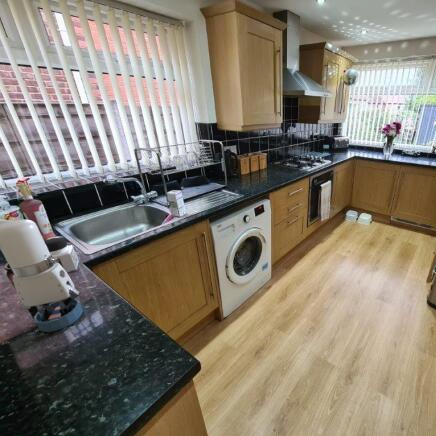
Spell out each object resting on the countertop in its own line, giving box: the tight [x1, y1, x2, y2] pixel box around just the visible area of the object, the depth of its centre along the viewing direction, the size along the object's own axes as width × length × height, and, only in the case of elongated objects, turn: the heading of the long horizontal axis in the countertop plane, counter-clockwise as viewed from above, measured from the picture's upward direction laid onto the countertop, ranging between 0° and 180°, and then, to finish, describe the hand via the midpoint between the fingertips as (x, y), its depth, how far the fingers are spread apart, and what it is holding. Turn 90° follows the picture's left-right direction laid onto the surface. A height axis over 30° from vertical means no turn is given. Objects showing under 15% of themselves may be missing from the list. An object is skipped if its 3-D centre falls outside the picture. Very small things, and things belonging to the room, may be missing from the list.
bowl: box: [33, 297, 84, 333], centre depth 71 cm, size 10×10×4 cm
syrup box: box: [166, 189, 186, 218], centre depth 143 cm, size 6×6×14 cm
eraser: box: [48, 306, 62, 321], centre depth 71 cm, size 5×3×3 cm, turn 22°
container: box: [44, 236, 79, 273], centre depth 93 cm, size 8×8×13 cm
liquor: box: [16, 182, 57, 241], centre depth 111 cm, size 7×7×28 cm
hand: (60, 317), depth 71 cm, fingers closed on eraser, 2 cm apart
